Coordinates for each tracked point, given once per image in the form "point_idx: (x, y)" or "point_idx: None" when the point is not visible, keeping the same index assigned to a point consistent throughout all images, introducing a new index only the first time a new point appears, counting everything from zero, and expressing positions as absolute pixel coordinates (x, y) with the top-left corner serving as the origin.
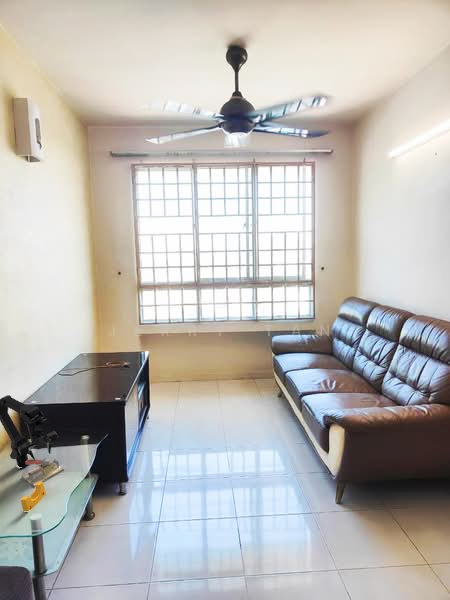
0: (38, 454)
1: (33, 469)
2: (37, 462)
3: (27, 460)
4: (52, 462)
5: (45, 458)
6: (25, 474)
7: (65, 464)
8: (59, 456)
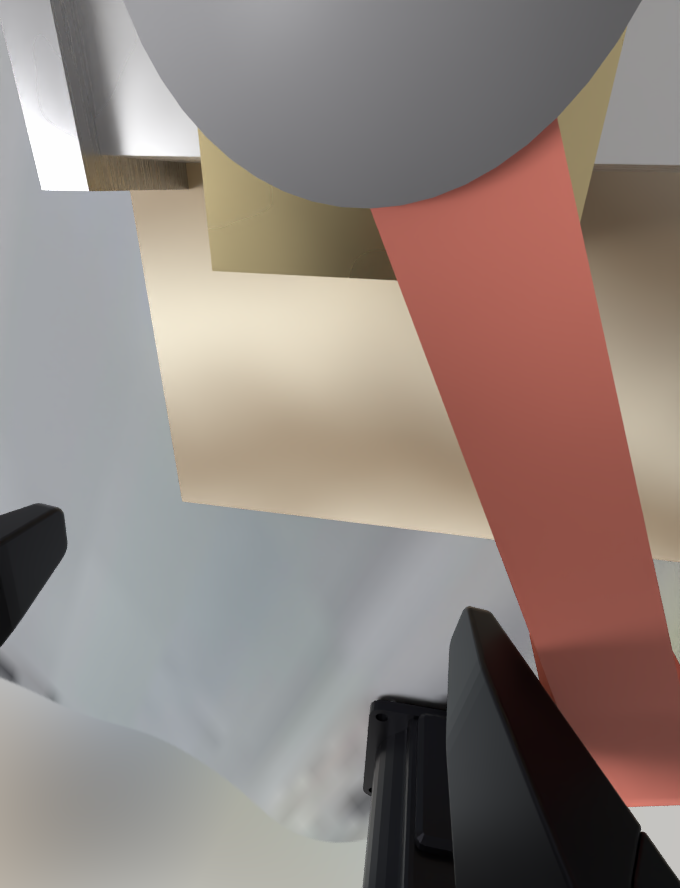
0: (235, 759)
1: (485, 534)
2: (595, 358)
3: (640, 787)
4: (157, 90)
5: (243, 140)
6: (662, 533)
7: (7, 54)
8: (55, 487)
